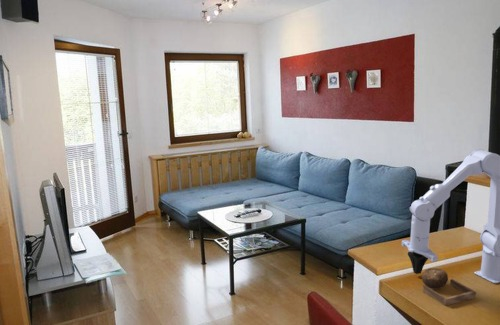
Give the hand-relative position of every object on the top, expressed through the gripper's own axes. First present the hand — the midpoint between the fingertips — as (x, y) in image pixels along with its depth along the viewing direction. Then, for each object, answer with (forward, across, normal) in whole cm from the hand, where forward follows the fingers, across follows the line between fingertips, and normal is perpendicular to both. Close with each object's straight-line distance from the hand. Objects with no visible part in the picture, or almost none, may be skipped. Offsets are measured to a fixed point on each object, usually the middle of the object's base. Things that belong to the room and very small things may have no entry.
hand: (417, 272), depth 136 cm
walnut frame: (+1, +14, 0) cm, 14 cm away
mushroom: (+1, +8, 0) cm, 8 cm away
